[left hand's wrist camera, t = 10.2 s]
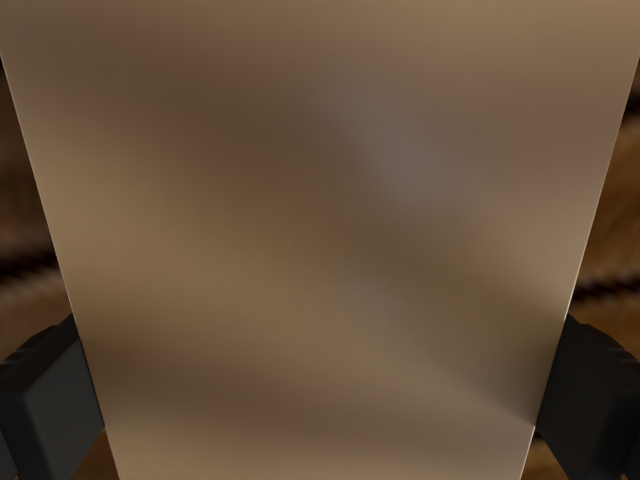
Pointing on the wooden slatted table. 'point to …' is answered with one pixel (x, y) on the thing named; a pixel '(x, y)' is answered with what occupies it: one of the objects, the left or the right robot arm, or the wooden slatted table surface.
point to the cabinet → (320, 220)
